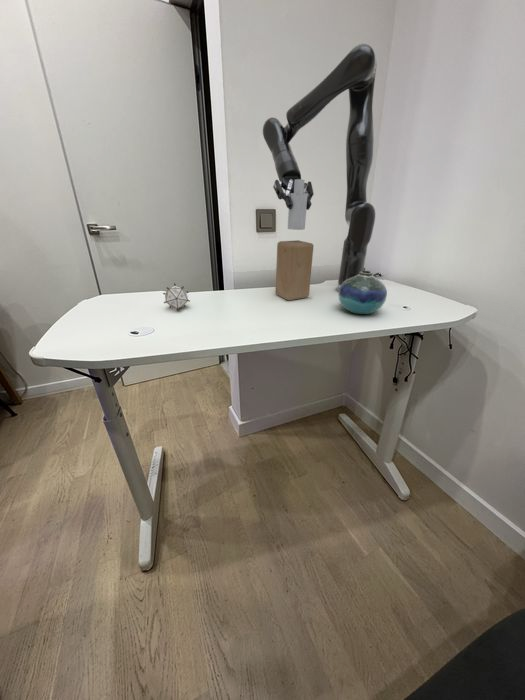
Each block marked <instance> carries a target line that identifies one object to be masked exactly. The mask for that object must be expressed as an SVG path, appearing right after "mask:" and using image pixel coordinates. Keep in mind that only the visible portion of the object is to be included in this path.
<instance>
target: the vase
mask: <svg viewBox="0 0 525 700" xmlns="http://www.w3.org/2000/svg"><path fill="white" fill-rule="evenodd" d="M373 275H374V274H373V271H370V270H365V271H360V272H359V274H358V275H355V276H353V277H351V278H349V279H347V280H345V281H344V282H343V283H342V284H341V286H340V288H339V291H338V301H339V303H340V305H341V307H342V308H343V309H344V310H346V311H348V312H349V313H353V314H357V315H370V314H373V313H376V312H377V311H379V310H380V309H381V308H382V307H383V306H384V304H385V302H386V300H387V297H388V290H387V287H386V285H385V284H384V283H383V281H382V280H380V279H379V278H377V277H376V276H373Z"/></svg>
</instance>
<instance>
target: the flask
mask: <svg viewBox="0 0 525 700" xmlns="http://www.w3.org/2000/svg"><path fill="white" fill-rule="evenodd" d="M304 183H305V179H302V180H299V179H297V180H295V182H294V193H290V194H289V196H290V197H291V200H292V203H293V206H292V209H288V216H287V229H288V230H292V231H294V230H296V231H303V230H305V229H306V221H307V210H306V208H307V196H308V194H304Z"/></svg>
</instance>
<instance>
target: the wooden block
mask: <svg viewBox="0 0 525 700" xmlns="http://www.w3.org/2000/svg"><path fill="white" fill-rule="evenodd" d="M314 247H315V246H314V244H313V243H312V242H308V241H302V240H279V241H278V242H277V245H276V266H275V267H276V268H275V269H276V270H275V290H274V291H275V294H276V295H277V296H279V297H281V298H283V299H285V300H286V301H295V300H300V299H307V298H309V296H310V286H311V277H312V268H313V267H312V266H313V256H314Z"/></svg>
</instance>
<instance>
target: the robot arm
mask: <svg viewBox="0 0 525 700" xmlns="http://www.w3.org/2000/svg"><path fill="white" fill-rule="evenodd" d="M376 57H377V56H376V53H375V50H374V49H373V47H372V46H370V44H367V43H360V44H358V45H355V46H354V47H353V48H352V49H351V50H350V51H349V52H348V53H347V55H345V56H344V58H343V59H342V60H341V61H340V62H339V63H338V64H337V65H336V66H335V68H334V69H333V70H332V71H331V72H330V73H329V74H328V75H327V76H326V77H324V79H323V80H321V81H320V83H318V84H317V85H316V86H315V87H314V88H312V90H310V91H309V92H308V93H307V94H306V95H304V96H303V97H302V98H300V99H299V100H298V101H297V102H296V103H295V104H293V105H292V106H291V107H289V109H288V110H287V111H286V114H285V117H286V121H287V123H286V124H285V126H284V125H283V124H282V122H281V121H280V120H279V119H278V118H277V117H272V116H271V117H269V118H267V119H266V120H265V122H264V123H263V126H262V136H263V139H264V141H265V143H266V145H267V147H268V149H269V151H270V153H271V156H272V159H273V162H274V168H275V172H276V174H277V177H278V179H275V180H274V183H273V186H272V188H273V190H274V192H275V194H276V197H277V198H278V200H283V201H284V202H285V206H286V208H287V209H288V210H289V209H292V206H293V203H292V200H291V197H290V196H289V195H290V193H294V182H295V180H297V179H299V180H303V179H302V174H301V171H300V168H299V165H298V161H297V159H296V157H295V154H294V153H293V150H292V147H291V145H290V142H291V141H292V139H294V137H295V136H296V135H297V133H299V131H300V130H301V129H303V128H304V127H305V126H306V125H308V124H309V123H311V122H312V121H313V120H314V119H315V118H316V117H317V116H319V115H320V113H322V111H323V110H324V109H325V108H326V107H327V106H328V105H329V104H330V103H331V102H332V101H333V100H334V99H336V98H337V97H338V96H339V95H341V94H342V93H344V92H345V91H347V90H348V99H349V114H348V122H347V127H346V128H347V129H346V136H345V169H346V170H345V172H346V175H345V177H346V198H345V200H346V201H345V208H344V209H345V211H344V219H345V220H344V221H345V223H346V224H347V226H349V227H348V232H347V235H346V238H344V240H343V245H342V252H341V260H340V266H339V268H340V269H339V274H338V281H337V287H336V290H337V291H338V292H339V288H340V286H341V284H342V283H343V282H344V281H345V280H347V279H349V278H351V277H353V276H355V275H358V274H359V272H360V271H366V267H365V263H366V258H367V253H368V249H369V248H368V247H369V244H370V242H371V239H372V236H373V231H374V227H375V222H376V216H377V215H376V214H377V213H376V209H375V207H374V205H373V204H371V202H368V201H367V200H368V199H367V198H368V197H367V196H368V195H367V188H368V181H369V177H370V173H371V171H372V166H373V163H374V155H375V154H374V153H375V122H374V109H373V105H374V91H375V83H376V76H377V75H376V74H377V65H378V64H377V58H376ZM304 194H308V196H307V208H306V211H309V210H310V209H311V206H312V202H311V200H312V198H313V197H314V195H315V193H314V189H313V184H312V182H311V181H310V180H309V181H307V182H304ZM379 273H380V272H376V273H374V274H373V276H374V277H376V276H379V277H382V274H381V273H380V274H379Z"/></svg>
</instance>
